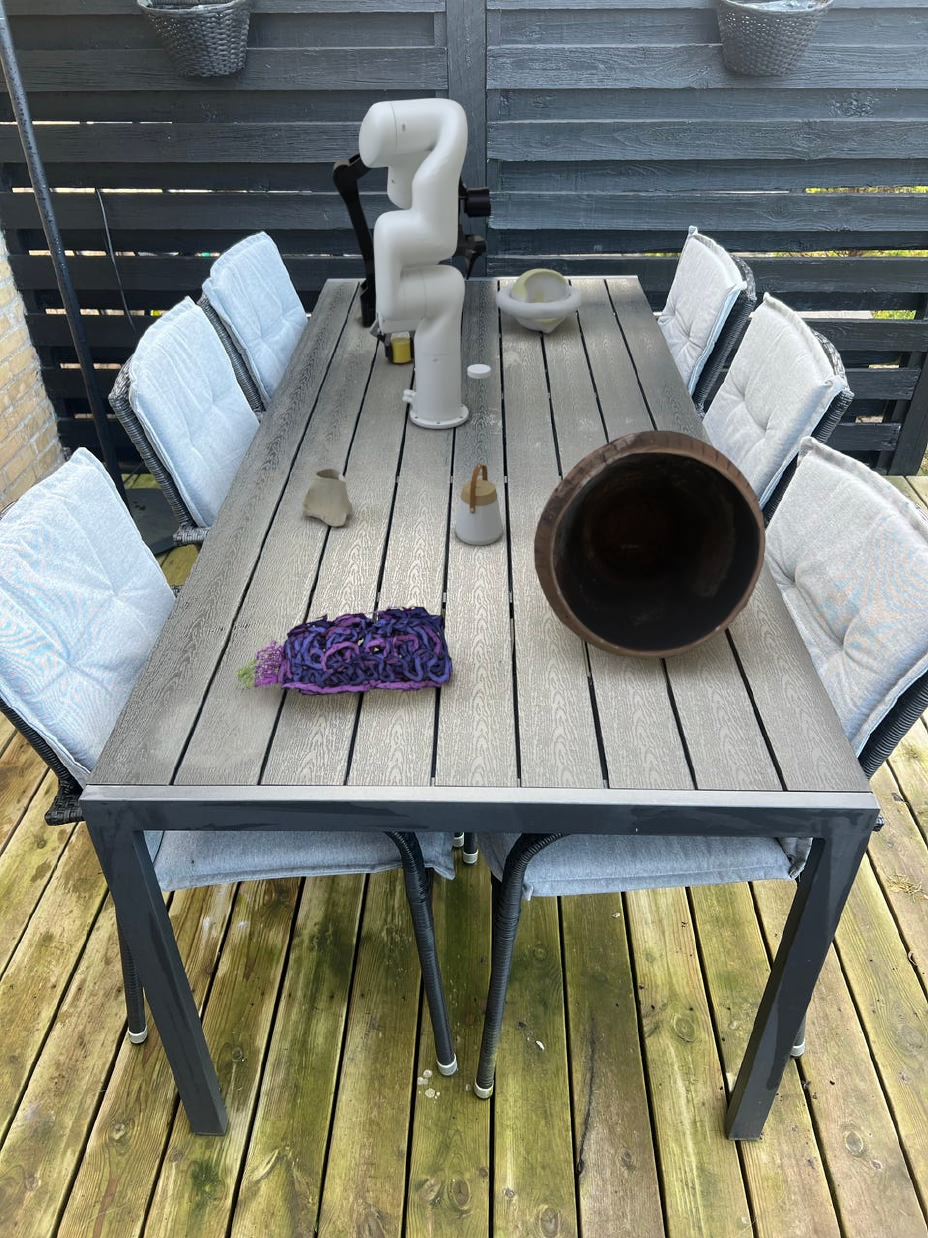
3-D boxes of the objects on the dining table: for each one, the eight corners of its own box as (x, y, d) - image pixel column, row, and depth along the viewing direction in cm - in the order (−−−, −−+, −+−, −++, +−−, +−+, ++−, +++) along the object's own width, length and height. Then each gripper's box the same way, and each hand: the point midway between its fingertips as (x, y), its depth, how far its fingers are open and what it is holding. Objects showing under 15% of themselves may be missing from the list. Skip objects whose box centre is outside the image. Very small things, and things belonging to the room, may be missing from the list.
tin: (410, 354, 226) (409, 336, 223) (410, 362, 222) (410, 343, 220) (391, 355, 226) (389, 336, 223) (390, 363, 222) (389, 344, 219)
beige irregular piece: (352, 523, 169) (358, 468, 167) (345, 530, 162) (351, 474, 159) (303, 516, 169) (308, 461, 167) (294, 523, 162) (299, 466, 159)
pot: (569, 390, 148) (614, 390, 119) (739, 473, 153) (822, 494, 124) (483, 572, 154) (505, 616, 125) (649, 647, 159) (708, 705, 130)
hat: (489, 313, 250) (490, 256, 241) (569, 310, 251) (573, 252, 242) (502, 348, 230) (503, 287, 221) (589, 343, 232) (594, 283, 223)
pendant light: (493, 549, 158) (495, 382, 140) (448, 540, 161) (445, 375, 142) (508, 525, 164) (512, 362, 146) (465, 517, 167) (463, 355, 148)
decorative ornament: (458, 672, 122) (225, 684, 119) (455, 713, 130) (238, 725, 128) (450, 592, 130) (231, 602, 127) (447, 636, 138) (243, 646, 135)
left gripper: (422, 229, 224) (424, 295, 234) (495, 222, 229) (494, 287, 238) (410, 218, 232) (412, 281, 242) (480, 211, 237) (480, 274, 247)
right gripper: (428, 272, 218) (430, 348, 229) (357, 280, 214) (363, 357, 225) (437, 282, 212) (439, 359, 223) (364, 290, 208) (370, 368, 219)
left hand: (450, 281), depth 242 cm, fingers open, 9 cm apart
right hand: (400, 357), depth 224 cm, fingers closed on tin, 4 cm apart
